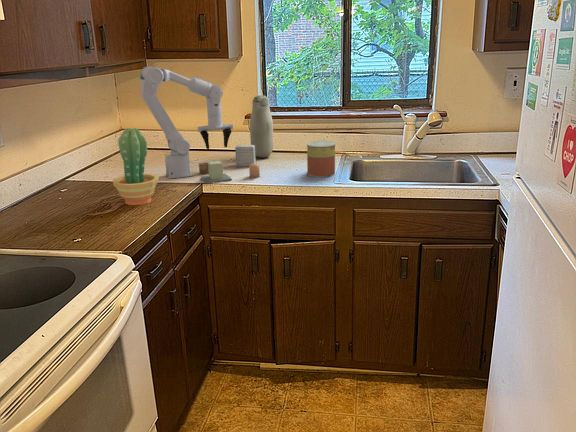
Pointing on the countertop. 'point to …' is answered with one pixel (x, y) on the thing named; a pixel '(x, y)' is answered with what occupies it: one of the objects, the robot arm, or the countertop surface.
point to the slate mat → (209, 180)
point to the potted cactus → (134, 169)
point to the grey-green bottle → (261, 127)
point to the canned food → (321, 158)
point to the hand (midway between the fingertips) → (216, 147)
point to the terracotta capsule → (254, 170)
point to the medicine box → (245, 155)
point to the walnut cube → (203, 168)
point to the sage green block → (215, 170)
